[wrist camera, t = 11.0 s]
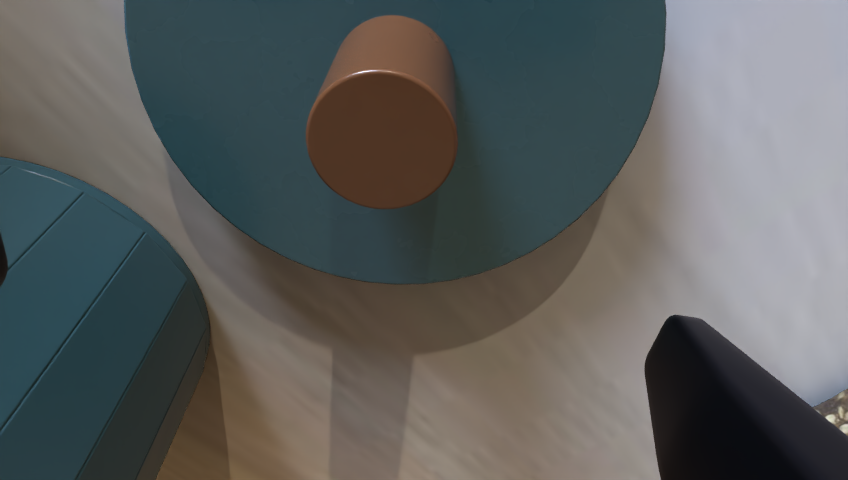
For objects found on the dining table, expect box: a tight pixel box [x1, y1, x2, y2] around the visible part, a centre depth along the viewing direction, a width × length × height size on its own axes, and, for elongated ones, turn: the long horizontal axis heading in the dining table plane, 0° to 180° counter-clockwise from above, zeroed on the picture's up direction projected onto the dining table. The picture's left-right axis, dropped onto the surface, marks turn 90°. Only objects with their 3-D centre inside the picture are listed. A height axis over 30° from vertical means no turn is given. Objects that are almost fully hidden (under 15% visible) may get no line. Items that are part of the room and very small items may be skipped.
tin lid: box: [124, 0, 666, 284], centre depth 14 cm, size 13×13×5 cm
